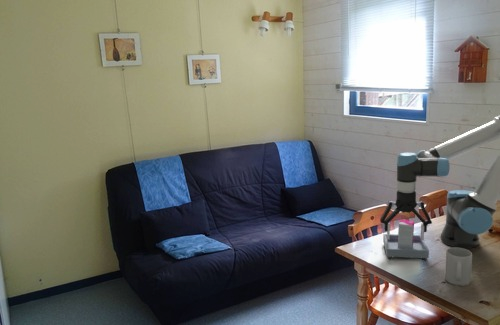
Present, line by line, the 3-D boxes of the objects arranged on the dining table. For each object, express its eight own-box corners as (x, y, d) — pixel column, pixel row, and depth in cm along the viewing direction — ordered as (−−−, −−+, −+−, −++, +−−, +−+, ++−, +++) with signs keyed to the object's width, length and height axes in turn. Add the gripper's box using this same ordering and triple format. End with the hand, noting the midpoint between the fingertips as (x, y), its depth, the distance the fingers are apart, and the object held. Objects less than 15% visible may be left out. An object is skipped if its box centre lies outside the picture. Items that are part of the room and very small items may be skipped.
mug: (444, 272, 159) (446, 246, 157) (470, 276, 156) (471, 248, 153) (444, 288, 149) (446, 259, 146) (471, 292, 145) (473, 262, 143)
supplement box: (412, 251, 173) (412, 225, 171) (397, 249, 176) (397, 223, 174) (413, 246, 178) (414, 220, 176) (399, 244, 181) (399, 219, 179)
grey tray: (421, 245, 184) (421, 235, 183) (428, 261, 169) (428, 250, 168) (383, 244, 188) (383, 234, 187) (386, 259, 172) (387, 249, 171)
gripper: (436, 188, 173) (434, 236, 178) (374, 187, 179) (373, 234, 183) (440, 193, 166) (438, 243, 171) (375, 192, 171) (375, 241, 176)
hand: (405, 238), depth 177 cm, fingers open, 13 cm apart
